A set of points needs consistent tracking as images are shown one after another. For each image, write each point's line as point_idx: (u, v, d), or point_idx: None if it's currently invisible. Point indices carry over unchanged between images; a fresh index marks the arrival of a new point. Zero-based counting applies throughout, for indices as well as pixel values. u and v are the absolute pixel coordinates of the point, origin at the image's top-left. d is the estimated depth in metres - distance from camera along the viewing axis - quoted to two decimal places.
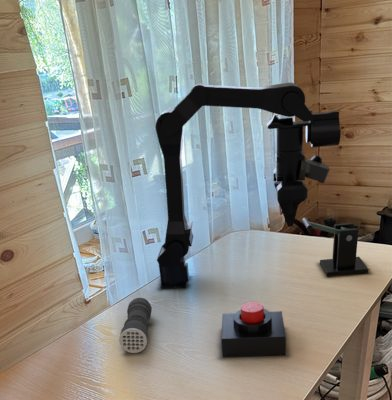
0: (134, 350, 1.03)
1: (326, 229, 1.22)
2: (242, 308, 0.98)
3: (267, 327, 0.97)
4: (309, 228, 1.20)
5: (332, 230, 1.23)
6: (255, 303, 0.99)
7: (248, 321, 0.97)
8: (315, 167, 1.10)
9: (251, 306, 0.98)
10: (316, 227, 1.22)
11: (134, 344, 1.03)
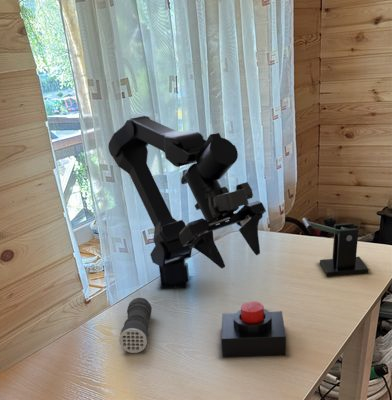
0: (134, 350, 1.03)
1: (326, 229, 1.22)
2: (242, 308, 0.98)
3: (267, 327, 0.97)
4: (309, 228, 1.20)
5: (332, 230, 1.23)
6: (255, 303, 0.99)
7: (248, 321, 0.97)
8: (218, 198, 0.98)
9: (251, 306, 0.98)
10: (316, 227, 1.22)
11: (134, 344, 1.03)
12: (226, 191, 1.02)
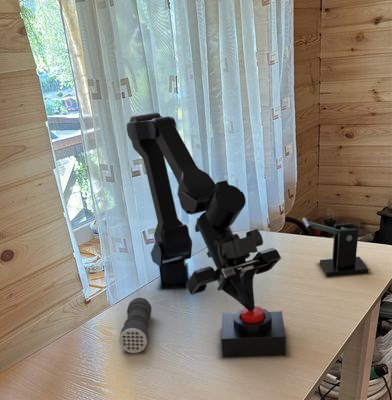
0: (134, 350, 1.03)
1: (326, 229, 1.22)
2: (242, 313, 0.98)
3: (267, 327, 0.97)
4: (309, 228, 1.20)
5: (332, 230, 1.23)
6: (255, 308, 1.00)
7: None
8: (225, 245, 0.95)
9: (251, 311, 0.99)
10: (316, 227, 1.22)
11: (134, 344, 1.03)
12: (237, 238, 0.99)
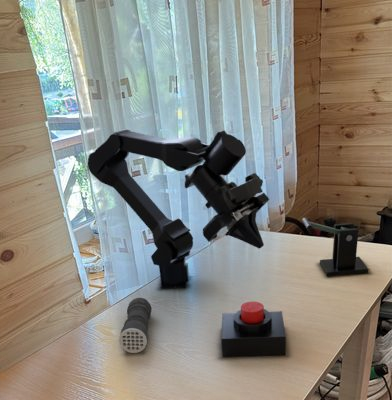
0: (134, 350, 1.03)
1: (326, 229, 1.22)
2: (242, 308, 0.98)
3: (267, 327, 0.97)
4: (309, 228, 1.20)
5: (332, 230, 1.23)
6: (255, 303, 0.99)
7: (248, 321, 0.97)
8: (234, 189, 1.03)
9: (251, 306, 0.98)
10: (316, 227, 1.22)
11: (134, 344, 1.03)
12: (234, 185, 1.08)
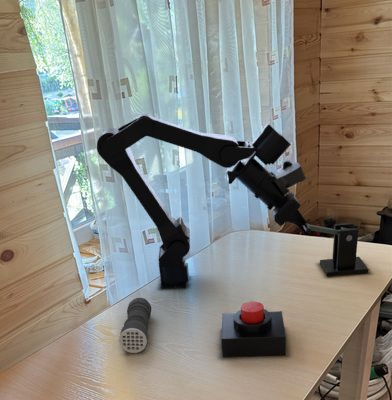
0: (134, 350, 1.03)
1: (325, 230, 1.23)
2: (242, 308, 0.98)
3: (267, 327, 0.97)
4: (308, 231, 1.20)
5: (332, 231, 1.23)
6: (255, 303, 0.99)
7: (248, 321, 0.97)
8: (288, 175, 1.14)
9: (251, 306, 0.98)
10: (315, 229, 1.22)
11: (134, 344, 1.03)
12: (273, 173, 1.18)
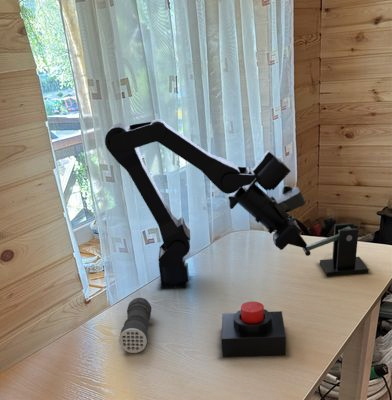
0: (134, 350, 1.03)
1: (325, 242, 1.24)
2: (242, 308, 0.98)
3: (267, 327, 0.97)
4: (308, 254, 1.23)
5: (331, 239, 1.24)
6: (255, 303, 0.99)
7: (248, 321, 0.97)
8: (288, 200, 1.17)
9: (251, 306, 0.98)
10: (315, 246, 1.25)
11: (134, 344, 1.03)
12: (274, 198, 1.21)
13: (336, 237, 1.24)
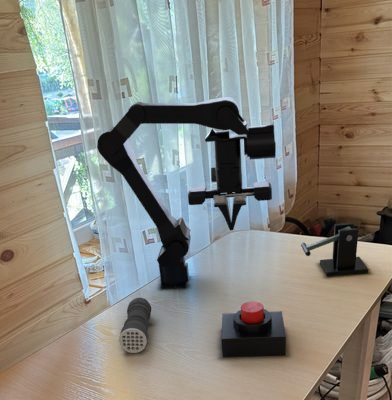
0: (134, 350, 1.03)
1: (325, 242, 1.24)
2: (242, 308, 0.98)
3: (267, 327, 0.97)
4: (308, 254, 1.23)
5: (331, 240, 1.24)
6: (255, 303, 0.99)
7: (248, 321, 0.97)
8: None
9: (251, 306, 0.98)
10: (315, 246, 1.25)
11: (134, 344, 1.03)
12: None
13: (336, 237, 1.24)
